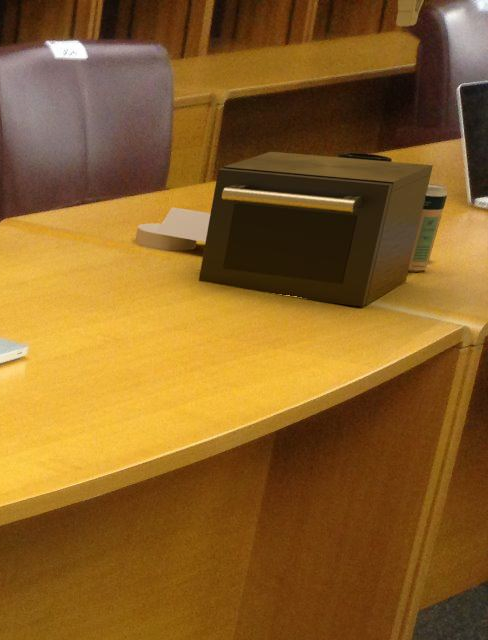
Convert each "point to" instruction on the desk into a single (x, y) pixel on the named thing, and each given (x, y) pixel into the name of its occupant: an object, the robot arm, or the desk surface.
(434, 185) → the pink and green canister
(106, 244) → the desk surface
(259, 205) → the oven door
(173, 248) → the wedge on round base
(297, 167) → the oven
